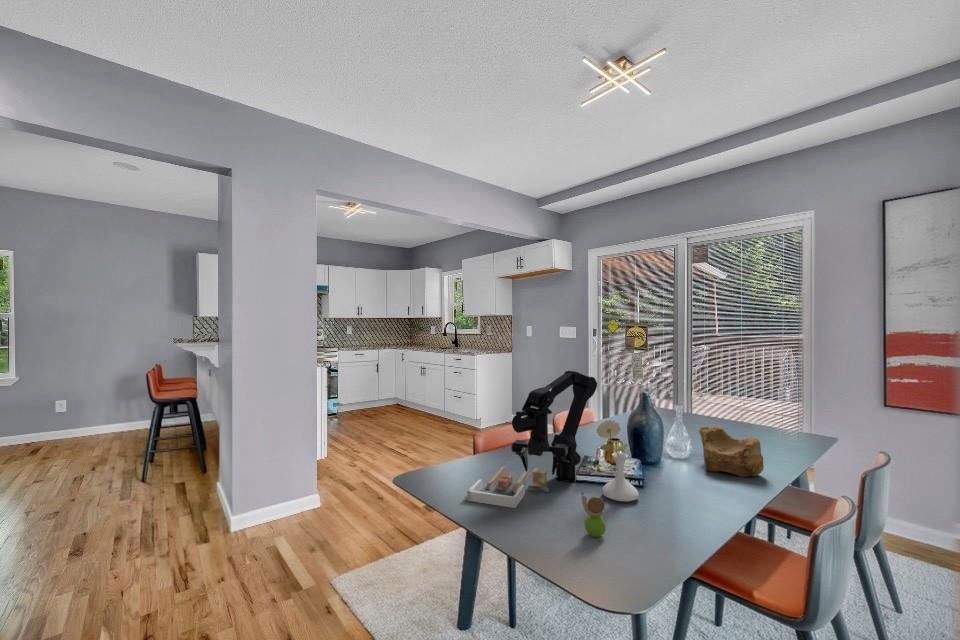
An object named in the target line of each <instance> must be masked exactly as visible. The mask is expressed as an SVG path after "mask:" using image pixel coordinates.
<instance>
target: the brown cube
mask: <svg viewBox="0 0 960 640" xmlns="http://www.w3.org/2000/svg"><path fill="white" fill-rule="evenodd" d="M501 478H505V479H509V487H511V486H512V485H513V474H509V473H508V474H506V473H504V475H503V476H502V477H501Z"/></svg>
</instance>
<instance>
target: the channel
mask: <svg viewBox="0 0 960 640" xmlns="http://www.w3.org/2000/svg"><path fill="white" fill-rule="evenodd" d="M506 472H507V466H505V465H502V466H501V468H500V469H499V470H498V471H497V472H496V473H495V474H494V475H493V476H492V477H491V478H490V480H488V481H487V482H486V489H487V490H491V489H492V488H494V486H495V484H498V481H499V480H500V478H502V476H503V475H504V474H506ZM529 476H530V469H529V468H528V471H527V472H526V471H525V470H524V471H523V472H522V474H521V475H520V477H519V478H518V480H517V481H516V482H515V483H514V485H513V487H512V493H513V494H516V492H517V491H518V489H519V488H520V486H521V485H524V483H525V482H526V480H527V479H528V477H529Z"/></svg>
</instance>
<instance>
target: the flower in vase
mask: <svg viewBox="0 0 960 640" xmlns="http://www.w3.org/2000/svg"><path fill="white" fill-rule="evenodd" d="M595 431H596V433H597V436H598V437H600V438H603V439H610V443H611V444H602V445H601V446H600V447H599V448H598V449H599V450H603V451H610V450H611V449H612V448H613V450H614V452H613V453H611V457H612V458H613V459H614V461H615V467H616V470H615V471H616V474H615V477H614V478H613V479H612V480H610V481H609V482H607V483H606V484H605V485H604V486H603V487H602V489H601V493H602V494H603V495H604V496H605V497H607V498H608V499H610V500H614V501H615V502H616V501H617V502H624V503H625V502H633V501H635V500H637V499H638V498H639V496H640V493H639V491H638V489H637V488H636V487H635V486H634V485H632V484H631V483H630V482H629V481H628V480H627V479H626V478H625V472H624V471H625V463H626V460H627V458H628V457H629V454H628V453H623V451H625V450H626V449H627V447H628V443H625V444H621V445H618V447H617V449H616V448H615V446H614V445H613V437H617V436H618V434H619V433H620V432H621V431H622V430H621V426H620V423H619V422H616V421H615V420H611V419H609V420H604V421H602V422H601V423H600V424H598V425H597V428H596V429H595Z"/></svg>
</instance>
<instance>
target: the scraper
mask: <svg viewBox="0 0 960 640" xmlns="http://www.w3.org/2000/svg"><path fill="white" fill-rule="evenodd" d="M547 485H548V484H547V469H545V468H537V467H534V469H533V471H532V485H529V484H528V485H527V490H529V491H537V492H544V493H549V489H550V488H549V487H547Z"/></svg>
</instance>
